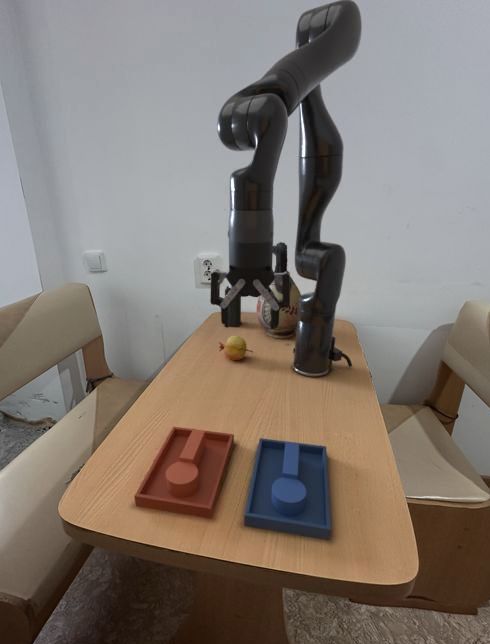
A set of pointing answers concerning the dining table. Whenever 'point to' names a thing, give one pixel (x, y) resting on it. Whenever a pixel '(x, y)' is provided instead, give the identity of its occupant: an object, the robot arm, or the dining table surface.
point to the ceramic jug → (285, 314)
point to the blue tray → (309, 473)
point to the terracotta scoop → (187, 467)
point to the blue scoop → (289, 485)
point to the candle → (234, 308)
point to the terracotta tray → (209, 475)
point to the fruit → (234, 348)
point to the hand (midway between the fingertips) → (249, 326)
